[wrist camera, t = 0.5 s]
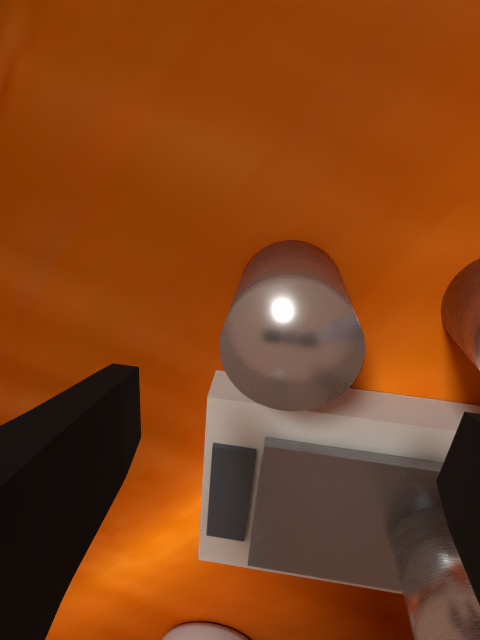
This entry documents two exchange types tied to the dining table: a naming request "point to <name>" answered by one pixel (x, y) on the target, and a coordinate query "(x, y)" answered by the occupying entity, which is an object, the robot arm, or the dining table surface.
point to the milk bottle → (202, 632)
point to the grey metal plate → (335, 510)
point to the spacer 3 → (464, 311)
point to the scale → (311, 427)
